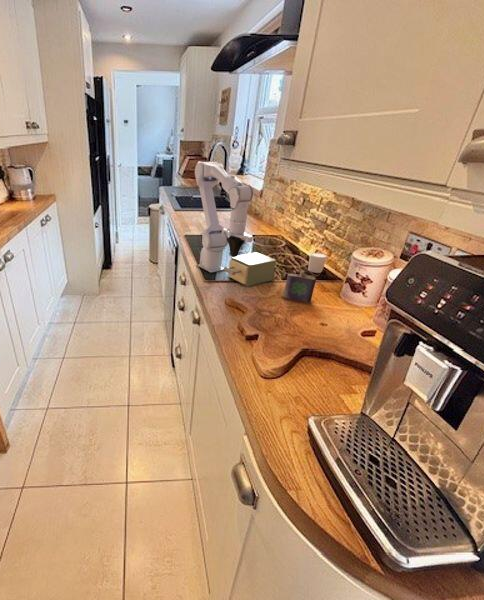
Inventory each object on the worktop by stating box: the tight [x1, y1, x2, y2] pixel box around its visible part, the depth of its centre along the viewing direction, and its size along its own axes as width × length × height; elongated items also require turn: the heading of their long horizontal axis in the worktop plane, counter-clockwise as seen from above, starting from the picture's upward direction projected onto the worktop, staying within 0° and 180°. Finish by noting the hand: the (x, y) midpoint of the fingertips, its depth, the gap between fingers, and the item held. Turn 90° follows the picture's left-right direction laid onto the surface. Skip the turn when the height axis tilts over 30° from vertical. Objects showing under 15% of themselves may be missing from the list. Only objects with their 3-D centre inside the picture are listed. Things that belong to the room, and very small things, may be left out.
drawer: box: [223, 259, 249, 285], centre depth 128 cm, size 17×9×7 cm, turn 119°
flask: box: [282, 270, 317, 304], centre depth 113 cm, size 9×3×11 cm, turn 65°
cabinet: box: [229, 252, 277, 287], centre depth 130 cm, size 14×11×9 cm
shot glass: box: [307, 252, 329, 274], centre depth 140 cm, size 7×7×7 cm
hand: (234, 256), depth 124 cm, fingers closed
